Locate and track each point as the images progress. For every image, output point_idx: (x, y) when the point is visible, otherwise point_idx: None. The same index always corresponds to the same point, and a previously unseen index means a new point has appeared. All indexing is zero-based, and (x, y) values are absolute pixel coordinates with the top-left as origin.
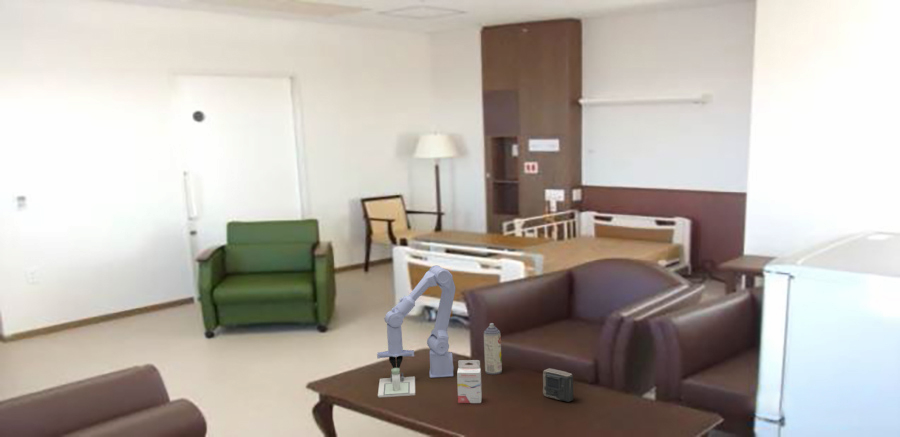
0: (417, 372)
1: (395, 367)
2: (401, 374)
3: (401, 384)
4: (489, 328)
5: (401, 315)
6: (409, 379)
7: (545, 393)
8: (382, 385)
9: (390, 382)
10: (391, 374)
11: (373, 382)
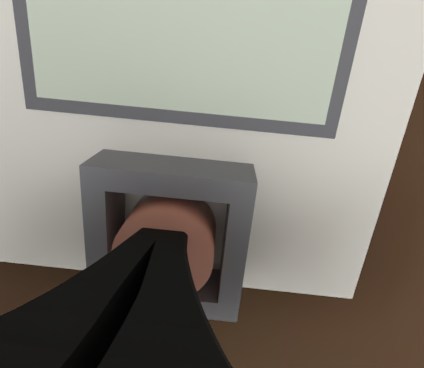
0: None
1: (144, 296)
2: None
3: (122, 39)
4: None
5: None
6: (39, 194)
7: None
8: (372, 83)
9: (256, 163)
10: (232, 296)
11: (418, 259)
